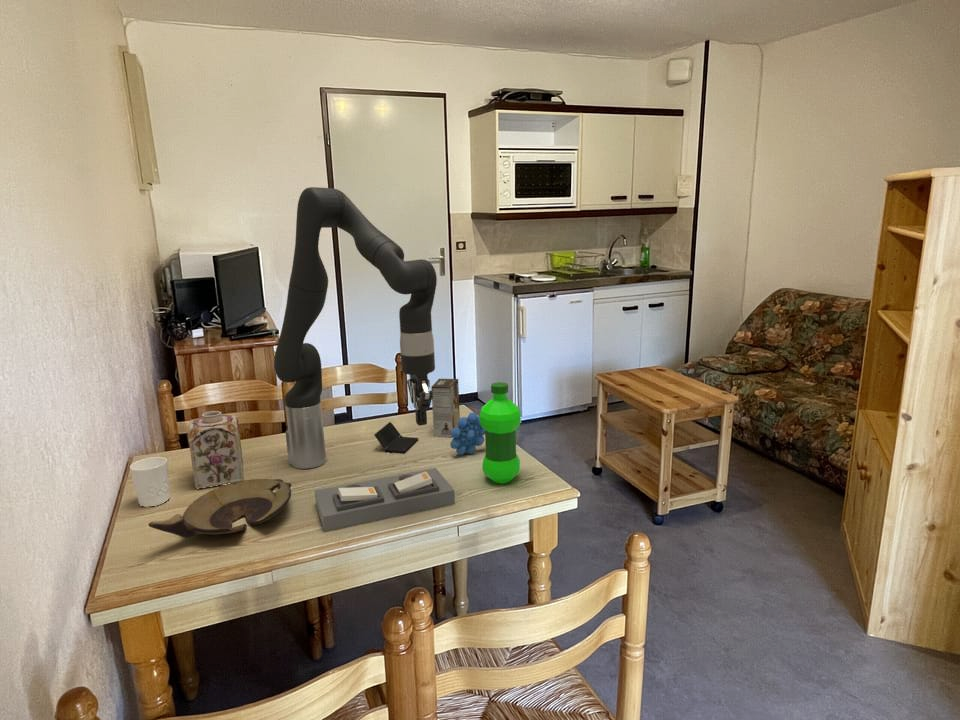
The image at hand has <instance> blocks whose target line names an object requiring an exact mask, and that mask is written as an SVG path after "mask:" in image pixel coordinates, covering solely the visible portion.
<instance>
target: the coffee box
mask: <svg viewBox="0 0 960 720" xmlns="http://www.w3.org/2000/svg"><path fill="white" fill-rule="evenodd" d="M430 387H431V390H432V392H433V396H432V400H431V405H432V424H433V427H432V428H433V437H436V436H440V437H441V438H442V437H443V438H452V436H451V431H452V429H453V428H455V427H458V424H457V423H458V420H459V419H460V418H461V415H460V413H461V411H460V392H459V378H438V379H437V380H436V381H435V383H434V384H433V385H431V386H430Z"/></svg>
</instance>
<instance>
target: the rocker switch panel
mask: <svg viewBox="0 0 960 720" xmlns="http://www.w3.org/2000/svg"><path fill="white" fill-rule="evenodd" d="M423 472H427V473H428V475H429V476H430V477H431V478H432V482H433V483H432V484H429V485H426V486H423V487H421V488H418V489H415V490H413V491H409V492H404V493H398V491H397V489H396V488H395V484H394V483H395V482H398V481H401V480H404V479H406V478H409V477H412V476H415V475H417V474H420V473H423ZM354 487H374V489H375V491H376V493H377V494H378V496H377V498H373V499H368V500H357V501H341V499H340V496H339V494H338V489H339V488H354ZM455 495H456V494H455V489H454V488H453V486H452V485H451V484H450V483H449V482H448V481H447V480H446V478H445V477H444V475H443V474H442V473H441V472H440V470H439V469H438V468H437V467H433V468H427V469H422V470H421V469H420V470H417V471H411V472H405V473H400V474H396V475H395V474H394V475H390V476H385V477H380V478H379V477H378V478H375V479H368V480H363V481H359V482H353V483H352V482H351V483H348V484H341V485H337V486H331V487H326V488H321V489H316V490H314V497H315V498H314V499H315V505H316V509H317V512H318V516H319V518H320V522H321V525H322V528H323V531H324V532H329V531H334V530H338V529H342V528H349V527H352V526H357V525H361V524H367V523H372V522H375V521H376V522H377V521H380V520H386V519H389V518H390V519H391V518H396V517H398V516H404V515H408V514H409V515H410V514H414V513H417V512H423V511H427V510H433V509H438V508H441V507H442V508H443V507H447V506H452V505H455V504H456V499H455Z"/></svg>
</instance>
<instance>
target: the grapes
mask: <svg viewBox="0 0 960 720" xmlns="http://www.w3.org/2000/svg"><path fill="white" fill-rule="evenodd" d="M457 424H458V427H455V428H453V429H452V431H451V436H452V437H451V438H452V439H451V441H450V448H451V449H453V450H455V451H456V453H457V455H458V456H463V455H464V454H465V453H466V454H468V455H471V454H474V452H475V451H476V449H477V447H480V446H482V445H483V444H484V442H485V437H484V436H485V430H484V429H483V428H482V427H481V424H480V415H477V413H476V412H471V413H469V414H468V415H467V417H466V416H460V419H459V420H458V423H457Z"/></svg>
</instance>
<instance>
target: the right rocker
mask: <svg viewBox="0 0 960 720" xmlns="http://www.w3.org/2000/svg"><path fill="white" fill-rule="evenodd" d="M432 483H433V482H432V478H431V477H430V476H429V475H428V473H427V472H423V473H420V474H417V475H415V476H412V477H409V478H406V479H404V480H401V481H398V482H395V483H394V484H395V488H396V489H397V491H398V493H404V492H409V491H413V490H415V489H418V488H421V487H423V486H426V485H429V484H432Z"/></svg>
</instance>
